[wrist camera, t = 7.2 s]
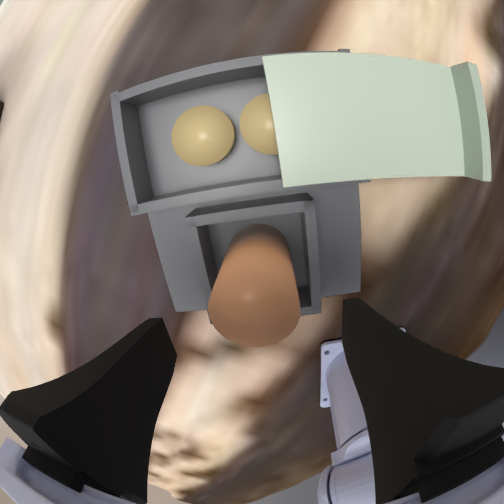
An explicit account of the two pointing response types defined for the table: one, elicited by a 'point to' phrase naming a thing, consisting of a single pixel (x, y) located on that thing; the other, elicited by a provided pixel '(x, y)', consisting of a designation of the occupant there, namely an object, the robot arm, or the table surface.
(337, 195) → the housing
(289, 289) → the tan cylindrical peg
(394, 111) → the lid
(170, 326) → the table surface
